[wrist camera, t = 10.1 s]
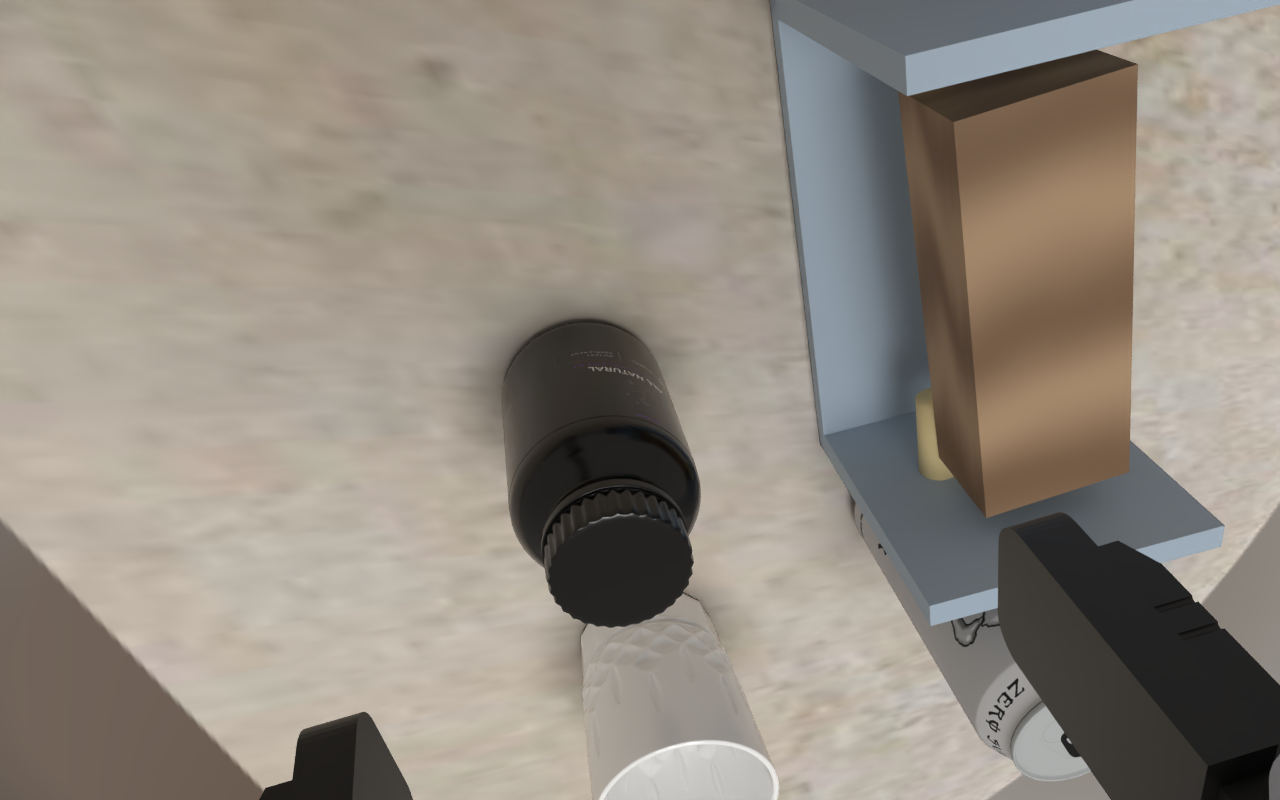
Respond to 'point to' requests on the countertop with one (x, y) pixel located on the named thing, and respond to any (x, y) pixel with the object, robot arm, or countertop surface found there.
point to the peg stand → (889, 281)
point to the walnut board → (1027, 273)
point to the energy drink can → (988, 682)
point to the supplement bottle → (599, 474)
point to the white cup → (669, 713)
